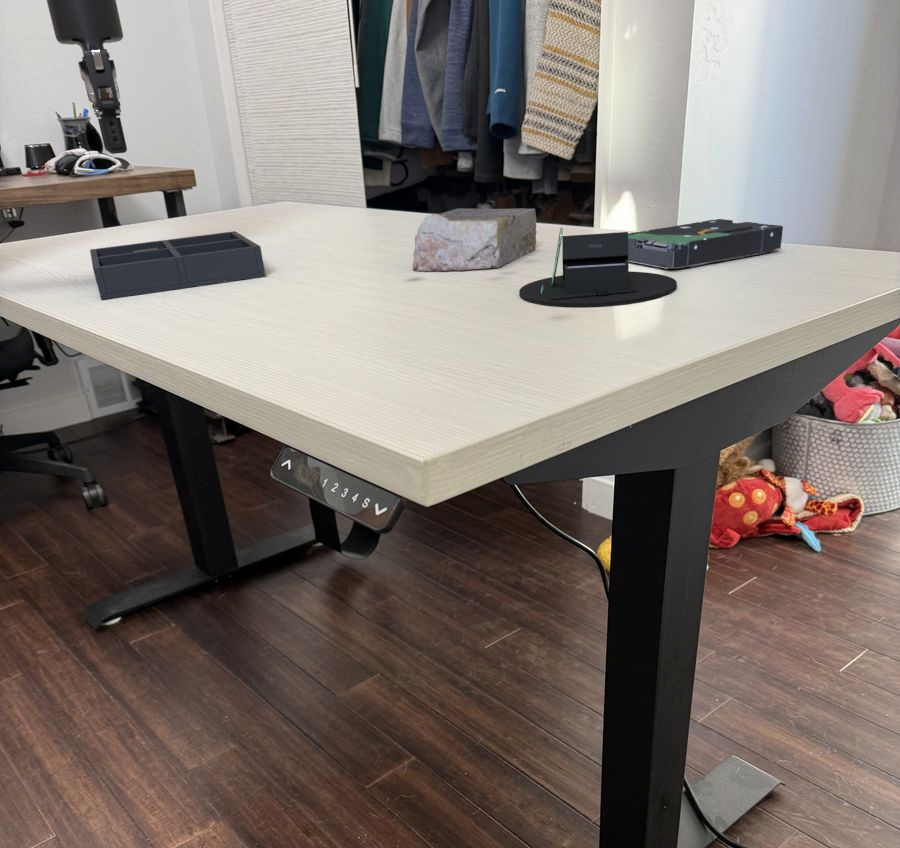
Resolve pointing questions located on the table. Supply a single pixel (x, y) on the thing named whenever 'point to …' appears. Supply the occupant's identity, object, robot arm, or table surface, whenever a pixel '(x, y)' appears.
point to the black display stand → (596, 275)
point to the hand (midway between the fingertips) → (116, 152)
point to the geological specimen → (474, 239)
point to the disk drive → (702, 243)
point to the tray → (175, 264)
